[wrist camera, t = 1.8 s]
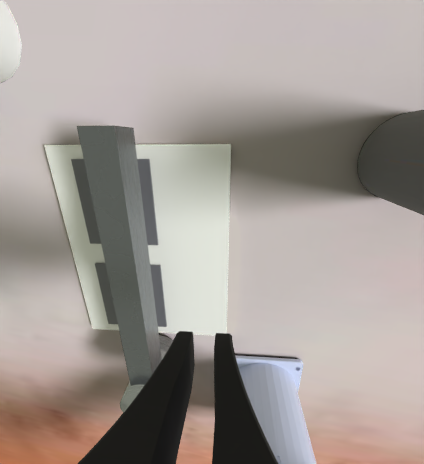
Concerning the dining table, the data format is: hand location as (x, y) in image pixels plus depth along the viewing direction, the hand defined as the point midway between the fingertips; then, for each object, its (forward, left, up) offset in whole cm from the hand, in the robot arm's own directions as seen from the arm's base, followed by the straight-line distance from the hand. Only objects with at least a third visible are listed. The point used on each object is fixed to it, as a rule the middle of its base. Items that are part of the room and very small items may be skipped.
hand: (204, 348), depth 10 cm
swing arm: (-2, +6, -10) cm, 12 cm away
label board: (0, +6, -10) cm, 12 cm away
